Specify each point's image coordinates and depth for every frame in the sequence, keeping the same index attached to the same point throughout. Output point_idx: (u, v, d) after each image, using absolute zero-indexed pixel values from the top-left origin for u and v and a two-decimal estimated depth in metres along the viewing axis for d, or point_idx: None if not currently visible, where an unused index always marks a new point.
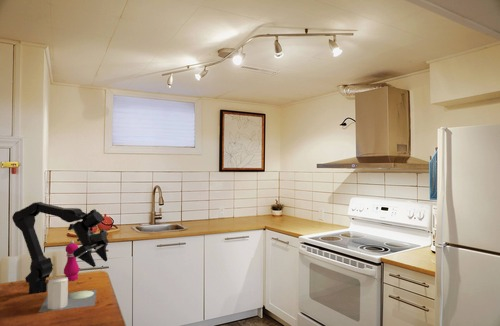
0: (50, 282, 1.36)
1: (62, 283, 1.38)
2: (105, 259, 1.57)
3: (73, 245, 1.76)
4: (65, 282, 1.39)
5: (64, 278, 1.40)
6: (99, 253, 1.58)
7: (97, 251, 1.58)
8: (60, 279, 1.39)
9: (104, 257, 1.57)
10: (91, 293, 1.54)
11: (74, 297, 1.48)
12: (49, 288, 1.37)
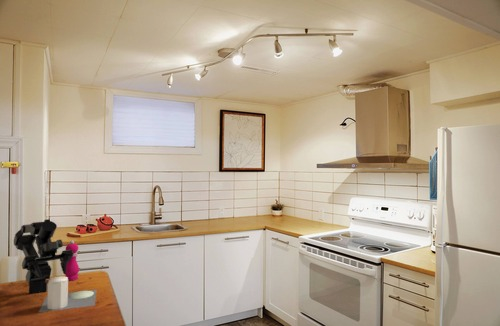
0: (50, 282, 1.36)
1: (62, 283, 1.38)
2: (63, 271, 1.47)
3: (73, 245, 1.76)
4: (65, 282, 1.39)
5: (64, 278, 1.40)
6: (61, 265, 1.50)
7: (61, 263, 1.51)
8: (60, 279, 1.39)
9: (63, 269, 1.48)
10: (91, 293, 1.54)
11: (74, 297, 1.48)
12: (49, 288, 1.37)
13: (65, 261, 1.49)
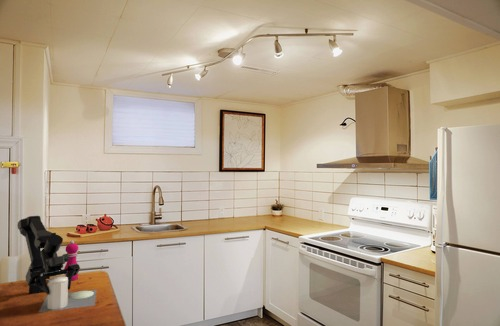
0: (50, 282, 1.36)
1: (62, 283, 1.38)
2: (68, 287, 1.42)
3: (73, 245, 1.76)
4: (65, 282, 1.39)
5: (64, 278, 1.40)
6: None
7: None
8: (60, 279, 1.39)
9: None
10: (91, 293, 1.54)
11: (74, 297, 1.48)
12: (49, 288, 1.37)
13: (70, 276, 1.44)
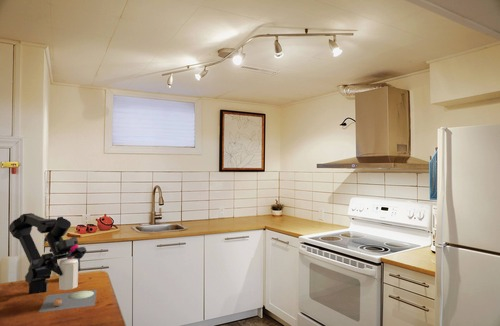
0: (62, 263, 1.41)
1: (74, 264, 1.42)
2: (78, 269, 1.47)
3: None
4: (76, 263, 1.44)
5: (75, 260, 1.45)
6: None
7: None
8: (71, 261, 1.43)
9: None
10: (91, 293, 1.54)
11: (74, 297, 1.48)
12: (61, 269, 1.41)
13: (78, 258, 1.49)
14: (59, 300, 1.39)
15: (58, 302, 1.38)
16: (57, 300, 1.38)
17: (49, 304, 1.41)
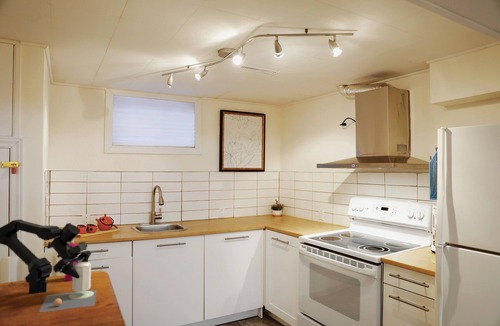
0: (79, 267, 1.49)
1: (89, 266, 1.52)
2: None
3: (73, 245, 1.76)
4: (90, 266, 1.53)
5: (87, 263, 1.54)
6: None
7: None
8: (85, 264, 1.52)
9: None
10: (91, 293, 1.54)
11: (74, 297, 1.48)
12: (78, 272, 1.49)
13: None
14: (59, 300, 1.39)
15: (58, 302, 1.38)
16: (57, 300, 1.38)
17: (49, 304, 1.41)
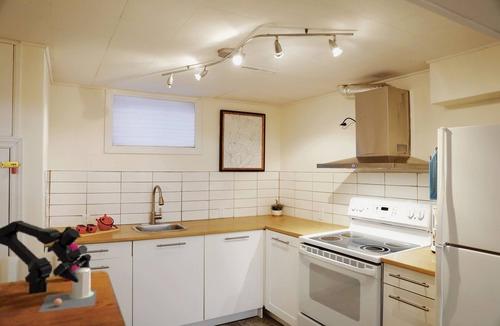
0: (79, 273, 1.49)
1: (89, 272, 1.52)
2: None
3: (73, 245, 1.76)
4: (90, 271, 1.53)
5: (87, 268, 1.54)
6: None
7: None
8: (85, 269, 1.52)
9: None
10: (91, 293, 1.54)
11: (74, 297, 1.48)
12: (77, 278, 1.49)
13: (88, 265, 1.58)
14: (59, 300, 1.39)
15: (58, 302, 1.38)
16: (57, 300, 1.38)
17: (49, 304, 1.41)
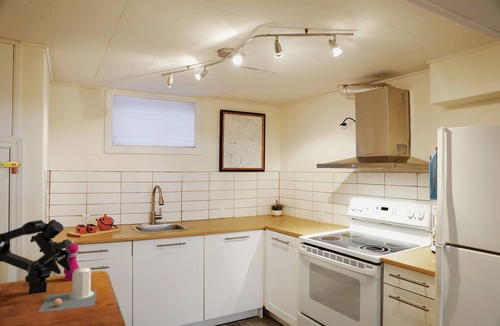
0: (79, 273, 1.49)
1: (89, 272, 1.52)
2: (68, 269, 1.59)
3: (73, 245, 1.76)
4: (90, 271, 1.53)
5: (87, 268, 1.54)
6: (62, 264, 1.60)
7: (59, 262, 1.60)
8: (85, 269, 1.52)
9: (67, 267, 1.59)
10: (91, 293, 1.54)
11: (74, 297, 1.48)
12: (77, 278, 1.49)
13: (67, 259, 1.61)
14: (59, 300, 1.39)
15: (58, 302, 1.38)
16: (57, 300, 1.38)
17: (49, 304, 1.41)
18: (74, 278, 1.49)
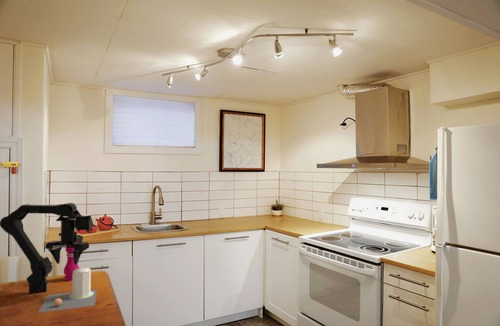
0: (79, 273, 1.49)
1: (89, 272, 1.52)
2: (58, 261, 1.59)
3: None
4: (90, 271, 1.53)
5: (87, 268, 1.54)
6: (56, 254, 1.58)
7: (54, 251, 1.57)
8: (85, 269, 1.52)
9: (58, 259, 1.59)
10: (91, 293, 1.54)
11: (74, 297, 1.48)
12: (77, 278, 1.49)
13: None
14: (59, 300, 1.39)
15: (58, 302, 1.38)
16: (57, 300, 1.38)
17: (49, 304, 1.41)
18: (74, 278, 1.49)
